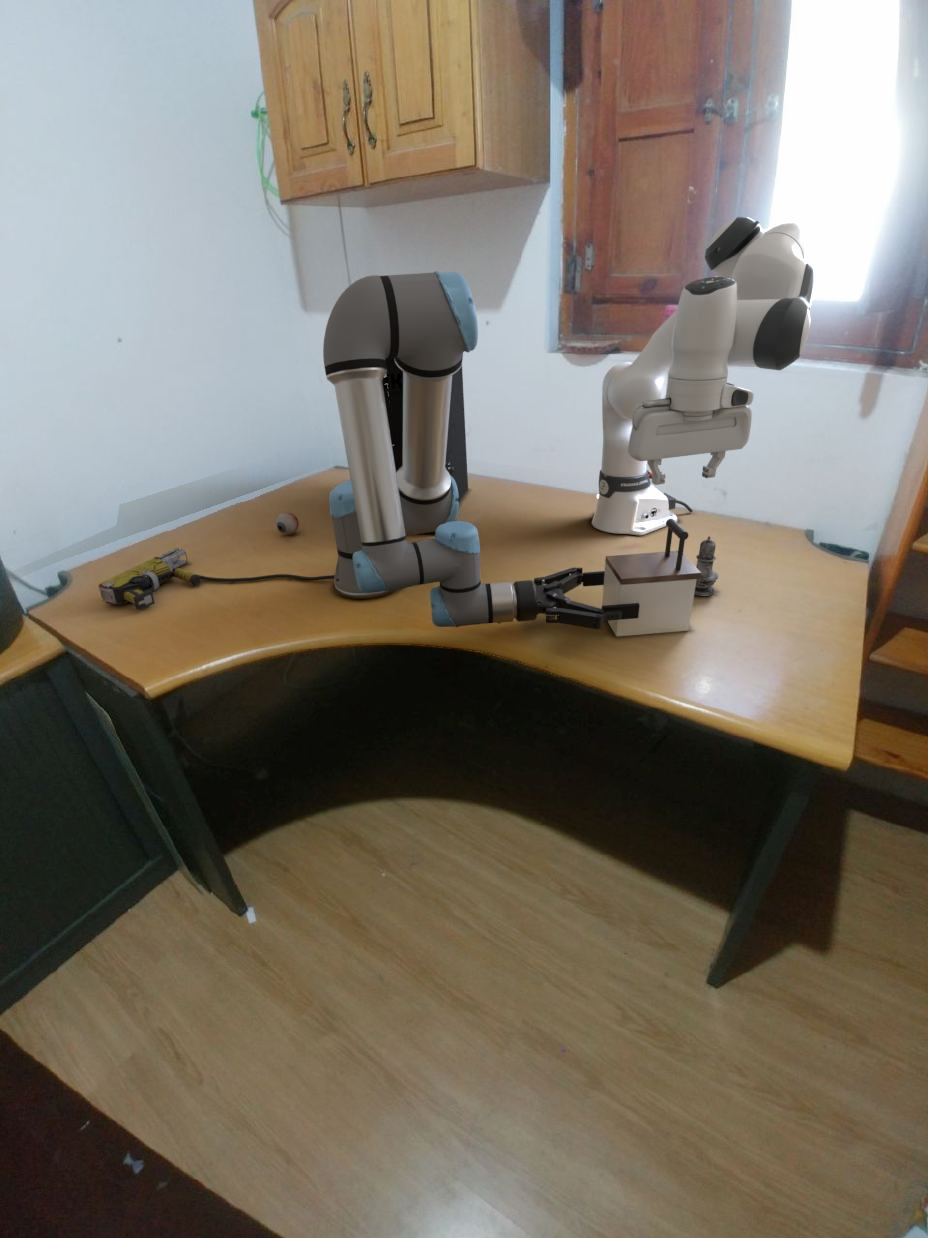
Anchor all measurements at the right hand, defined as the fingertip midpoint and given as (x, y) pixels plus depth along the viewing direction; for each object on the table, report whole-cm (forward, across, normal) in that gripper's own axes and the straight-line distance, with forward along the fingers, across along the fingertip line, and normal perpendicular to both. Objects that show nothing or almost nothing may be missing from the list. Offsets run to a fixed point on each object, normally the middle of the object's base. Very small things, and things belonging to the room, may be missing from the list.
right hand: (683, 480), depth 103 cm
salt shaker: (+27, +13, +8) cm, 31 cm away
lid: (+17, -4, +1) cm, 17 cm away
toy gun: (+27, -100, +48) cm, 114 cm away
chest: (+27, -4, +1) cm, 28 cm away
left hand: (+21, -8, +1) cm, 22 cm away
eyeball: (+27, -72, +72) cm, 106 cm away
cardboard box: (+27, -34, +79) cm, 90 cm away
